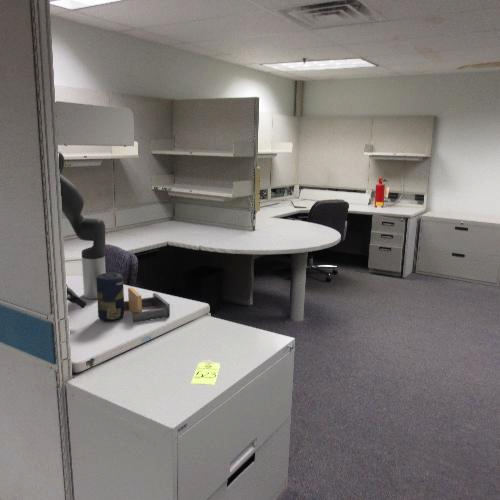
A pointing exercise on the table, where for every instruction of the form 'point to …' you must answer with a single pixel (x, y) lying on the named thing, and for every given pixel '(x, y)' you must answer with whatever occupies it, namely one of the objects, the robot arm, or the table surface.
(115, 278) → the canister
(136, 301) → the plate
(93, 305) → the table surface
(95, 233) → the robot arm
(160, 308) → the tray
